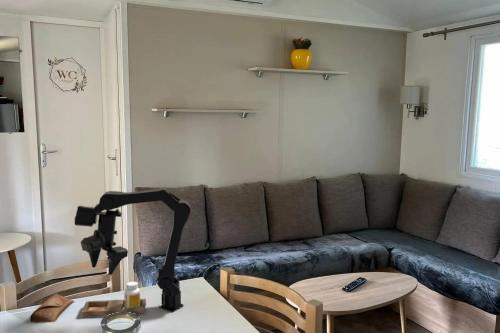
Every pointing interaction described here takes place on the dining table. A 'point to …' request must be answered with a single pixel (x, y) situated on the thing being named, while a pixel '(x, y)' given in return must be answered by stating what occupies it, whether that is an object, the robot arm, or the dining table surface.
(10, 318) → the dining table surface
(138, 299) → the supplement bottle
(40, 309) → the sunglasses case
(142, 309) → the walnut dock
